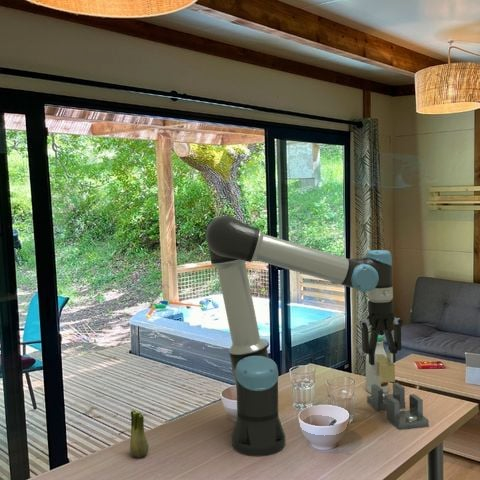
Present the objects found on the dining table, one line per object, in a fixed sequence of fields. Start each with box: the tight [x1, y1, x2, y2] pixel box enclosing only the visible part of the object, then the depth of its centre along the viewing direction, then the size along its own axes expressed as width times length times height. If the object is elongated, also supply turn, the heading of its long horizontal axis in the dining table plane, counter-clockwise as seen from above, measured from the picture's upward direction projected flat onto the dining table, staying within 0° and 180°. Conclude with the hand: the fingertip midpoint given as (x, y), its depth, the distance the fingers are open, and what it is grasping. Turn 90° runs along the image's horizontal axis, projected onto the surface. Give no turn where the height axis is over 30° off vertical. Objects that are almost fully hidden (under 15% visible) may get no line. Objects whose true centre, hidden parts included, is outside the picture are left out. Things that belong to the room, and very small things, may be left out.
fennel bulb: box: [129, 409, 149, 458], centre depth 139 cm, size 6×5×12 cm
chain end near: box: [385, 393, 430, 431], centre depth 155 cm, size 10×8×7 cm
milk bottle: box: [365, 334, 389, 394], centre depth 182 cm, size 8×8×20 cm
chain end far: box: [366, 382, 406, 412], centre depth 169 cm, size 10×8×7 cm
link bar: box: [371, 354, 396, 383], centre depth 160 cm, size 12×4×5 cm, turn 1°
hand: (382, 373), depth 160 cm, fingers closed on link bar, 4 cm apart
